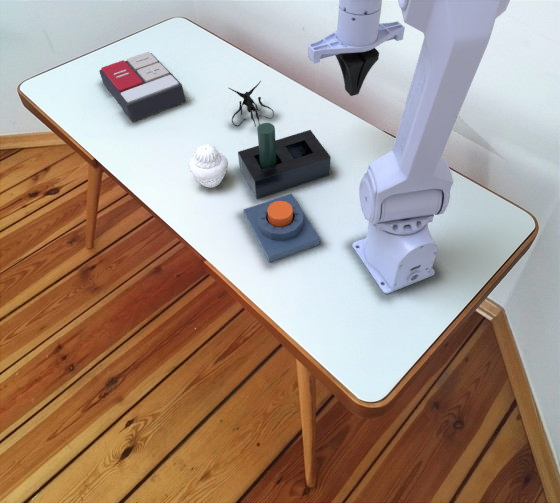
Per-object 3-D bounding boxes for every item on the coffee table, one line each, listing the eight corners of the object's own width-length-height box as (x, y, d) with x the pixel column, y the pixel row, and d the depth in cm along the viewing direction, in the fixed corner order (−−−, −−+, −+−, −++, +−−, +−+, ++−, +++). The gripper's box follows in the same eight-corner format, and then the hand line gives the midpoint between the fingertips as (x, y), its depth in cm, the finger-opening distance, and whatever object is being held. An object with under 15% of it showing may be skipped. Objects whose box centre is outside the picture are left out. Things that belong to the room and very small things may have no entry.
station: (319, 244, 75) (320, 231, 72) (269, 263, 73) (268, 250, 71) (291, 199, 81) (291, 185, 78) (243, 215, 79) (242, 201, 76)
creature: (278, 127, 93) (265, 95, 96) (279, 107, 88) (265, 73, 92) (236, 137, 92) (224, 104, 95) (235, 117, 87) (222, 83, 90)
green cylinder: (279, 180, 83) (277, 130, 75) (264, 185, 83) (261, 135, 75) (273, 170, 85) (270, 120, 77) (258, 175, 84) (254, 125, 76)
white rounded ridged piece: (185, 178, 84) (177, 144, 79) (218, 162, 86) (212, 129, 81) (204, 200, 81) (197, 167, 75) (237, 183, 83) (233, 150, 78)
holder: (329, 175, 84) (330, 156, 80) (256, 199, 81) (254, 181, 78) (310, 148, 88) (310, 129, 85) (239, 170, 85) (237, 151, 82)
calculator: (149, 48, 102) (182, 81, 94) (155, 68, 105) (186, 101, 97) (96, 66, 99) (125, 102, 90) (103, 86, 102) (132, 122, 93)
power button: (296, 222, 74) (296, 214, 73) (273, 230, 73) (273, 222, 72) (286, 206, 76) (286, 197, 75) (264, 213, 75) (263, 205, 74)
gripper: (391, -19, 73) (379, 67, 84) (298, 3, 70) (298, 89, 81) (418, 2, 69) (402, 90, 80) (321, 27, 66) (318, 115, 77)
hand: (351, 91), depth 80 cm, fingers closed
